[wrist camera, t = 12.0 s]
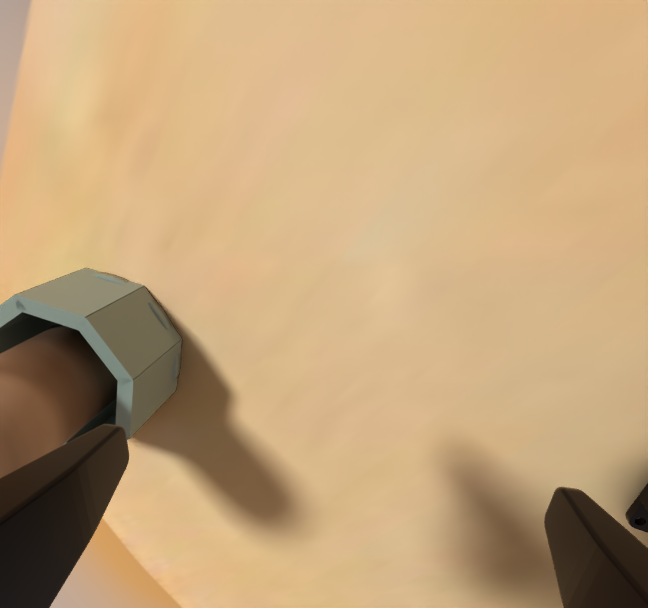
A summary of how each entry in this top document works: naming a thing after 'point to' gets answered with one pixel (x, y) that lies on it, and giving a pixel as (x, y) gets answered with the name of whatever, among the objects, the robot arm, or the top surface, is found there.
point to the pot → (105, 338)
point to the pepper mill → (49, 394)
